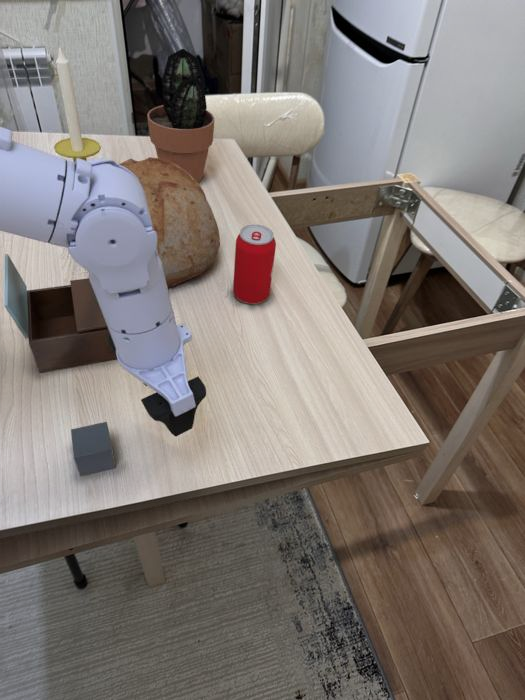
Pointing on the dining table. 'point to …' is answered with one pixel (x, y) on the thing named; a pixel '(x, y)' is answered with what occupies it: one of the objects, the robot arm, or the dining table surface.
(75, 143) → the candle
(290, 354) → the dining table surface
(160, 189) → the bread
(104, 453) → the block
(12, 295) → the door
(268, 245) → the beverage can
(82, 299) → the box
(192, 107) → the potted plant
